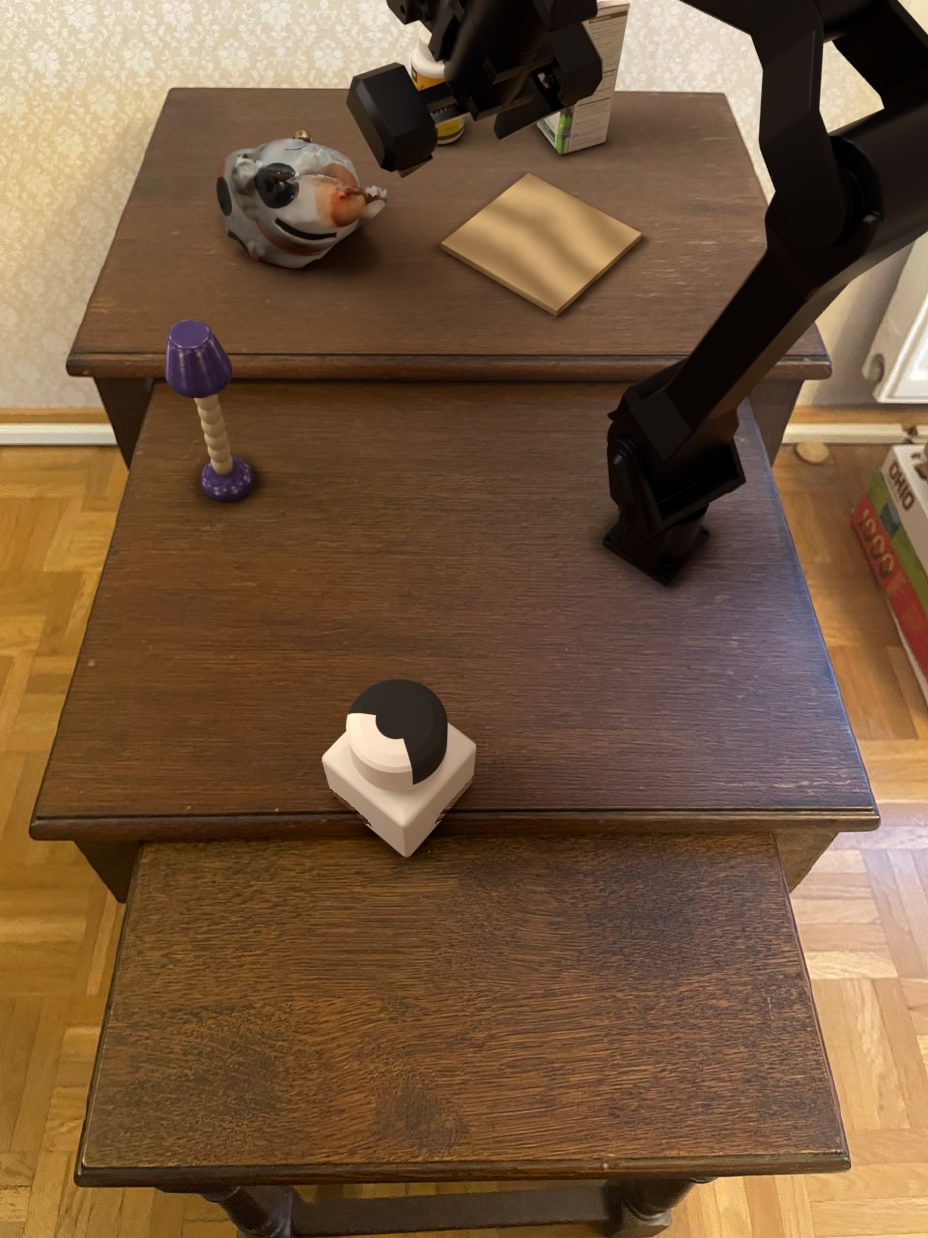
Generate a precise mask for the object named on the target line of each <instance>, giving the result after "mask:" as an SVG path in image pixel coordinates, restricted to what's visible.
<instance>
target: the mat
mask: <svg viewBox="0 0 928 1238" xmlns="http://www.w3.org/2000/svg"><path fill="white" fill-rule="evenodd" d="M641 239H642V232H641V231H638V230H636V229H634V228H633V227H631V226H628V225H627V224H625V223H623V222H621V221H619V220H618V219H616V218H614V217H612V216H611V215H609V214H606V213H604V211H603V212H602V211H601V210H599V209H598V208H595V207H593V206H592V205H589V204H588V203H586V202H584V201H583V200H580V199H578V198H577V197H575V196H574V195H571V194H569V193H567V192H566V191H563V190H562V189H560V188H558V187H556V186H554V185H552V184H550V183H549V182H547V181H545V180H543V179H541V178H539V177H537V176H535V174H532V173H529V172H527V173H526V174H525V175H524V176H523V177H522V178H520V179H519V180H518V181H516V182H515V183H514V184H513V185H511V186H510V187H509V188H507V189H506V190H505V191H503V193H501V194H500V195H499V196H497V197H496V198H495V199H494V200H492V201H491V202H490V203H489V204H487V205H486V206H485V207H484V208H482V209H481V210H480V211H479V212H478V213H476V214H475V215H474V216H473V217H471V218H470V219H469V220H468V221H466V222H465V223H463V225H461V226H460V227H459V228H458V229H457V230H455V231H453V233H451V234H450V235H449V236H448V237H446V238H445V239H444V240H443V241H442V242H440V249H441V251H443V252H445V253H446V254H448V255H450V256H452V257H453V258H455V259H457V260H458V261H460V262H462V263H464V264H466V265H467V266H469V267H470V268H473V270H475V271H478V272H479V273H481V274H482V275H484V276H486V277H488V278H489V279H491V280H492V281H494V282H496V283H497V284H500V285H501V286H503V287H505V288H506V289H508V290H510V291H512V292H513V293H515V294H517V295H519V296H520V297H521V298H523V299H525V300H527V301H528V302H530V303H532V304H533V305H536V306H537V307H539V308H540V309H542V310H544V311H545V312H548V313H549V314H551V315H553V316H554V317H558V316H559V315H560V314H561V313H563V311H565V310H566V309H567V308H568V307H569V306H570V305H571V304H572V303H573V302H575V300H577V299H578V298H579V297H580V296H581V295H582V294H583V293H584V292H585V291H586V290H587V289H589V288H590V287H592V285H593V284H594V283H595V282H596V281H597V280H598V279H599V278H600V277H602V276H603V275H604V274H605V273H606V272H607V271H608V270H609V269H610V268H612V267H613V266H614V265H615V264H617V262H618V261H619V260H620V259H622V258H623V256H624V255H625V254H627V253H628V252H629V251H630V250H632V248H633V247H634V246H635V245H637V244H638V243H639V242H640V241H641Z"/></svg>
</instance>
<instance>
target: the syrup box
mask: <svg viewBox="0 0 928 1238" xmlns="http://www.w3.org/2000/svg"><path fill="white" fill-rule="evenodd" d="M597 7H598V14H597V16H596V17H595V18H592V19H590V20H587V21H584V22H583V23H584V25H585V27H586V29H587V31H588V33H589V34H590V36H591V38H592V40H593V42H594V44H595V46H596V48H597V50H598V51H599V53H600V55H601V57H602V59H603V68H604V74H603V80H602V81H601V83H600V84H599V86H598V88H597V89H596V91H595V92H594V94H593V95H592V96H590V97H587V98H584V99H582V100H579V101H578V102H577V103H576V104H575V105H573V106H571V107H568V108H566V109H564V110H562V111H560V112H558V113H556V114H554V115H552V116H549V117H547V118H545V119H543V120H541V121H539V122H537V123H536V126H537V127H538V129H539V130H540V131H541V132H542V133H543V135H544V137H545V138H546V139H547V140H548V141H549V143H550V144H551V145H552V146H553V148H554V149H555V150H556V152H557V153H558V154H559V155H564V154H569V153H572V152H575V151H579V150H582V149H586V148H590V147H592V146H596V145H599V144H603V143H606V141H607V134H608V130H609V124H610V123H609V122H610V119H611V112H612V107H613V103H614V97H615V91H616V86H617V85H616V84H617V79H618V73H619V68H620V62H621V58H622V57H621V56H622V53H623V46H624V40H625V36H626V35H625V34H626V28H627V23H628V17H629V12H630V7H631V2H630V1H629V0H597Z"/></svg>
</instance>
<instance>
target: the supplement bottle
mask: <svg viewBox="0 0 928 1238" xmlns="http://www.w3.org/2000/svg"><path fill="white" fill-rule="evenodd" d="M431 35H432V33H430V32H429V31H428V30H427V28H426V27H425V26H424V25H423V26H422V27H421V28H420V29H419V32H418V43H417V46H416V47H415V48H414V49H413V51H412V52H411V55H410V56H411V57H410V70H411V71H410V74H411V75H410V77H411V79H412V80H413V82H414V84H415V86H416V88H417V90H418V91H420V90H423V89H425V88H428V87H431V86H434V85H437V84H439V83H442V82H445V79H444V71H443V70H444V67H445V66H444V64H443V62H442V61H439V62H436V61H435V60H434V58H433V56H432V54H431V52H430V50H429V49H428V44H429V41H430V38H431ZM457 105H458V104H457ZM438 112H439V111H438ZM465 119H466V116H464V117H461V118H459V119H456V120H453V121H451V122H448V123H445V124H443V125H440V126H437V127H436V133H437V139H438V143H437V145H445V144H450V143H452V142H454V141H456V140H457V139H460V137H461V136H462V135H463V132H464V130H465Z"/></svg>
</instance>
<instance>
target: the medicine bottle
mask: <svg viewBox="0 0 928 1238" xmlns="http://www.w3.org/2000/svg"><path fill="white" fill-rule="evenodd" d="M447 714H448V713H447V710H446V709H445V706H444V705H443V703H442V701H441V699H440V698H439V697H438V695H437V694H436V693H435V692H434V691H432V690H431V689H430V688H429V687H427V686H426V685H423V684H422V683H420V682H417V681H414V680H410V679H406V678H405V679H404V678H391V679H386V680H382V681H379V682H376V683H374V684H372V685H370V686H369V687H367V688H366V689H364V690H363V691H362V692H361V693H360V694H359V695H358V696H357V697H356V699H355V700H353V703H352V704H351V706H350V707H349V711H348V713H347V717H346V722H345V723H346V724H345V729H346V731H345V732H343V734H342V735H341V736H340V737H339V738H337V740H336V741H335V742H334V743H333V744H332V745H331V746H330V748H328V749H327V750H326V752H325V753H324V754H323V755H322V757H321V762H322V765H323V769H324V774H325V776H326V780H327V784H328V787H330V788H329V790H330V789H332V790H333V791H334V792H335V793H337V794H338V795H339V796H340V797H342V798H343V799H344V800H346V801H347V802H348V803H349V804H350V805H351V806H352V807H354V808H355V809H356V810H357V811H358V812H359V813H360V814H361V815H363V816H364V817H365V818H366V819H367V820H368V822H370V824H371V826H372V827H371V826H370V825H369V824H365V825H366V826H367V827H368V828H369V829H370V830H372V831H373V832H374V833H375V834H376V835H377V836H379V837H380V839H382V840H384V841H385V842H386V843H387V844H388V845H389V846H390V847H392V848H393V849H394V850H395V851H397V852H398V853H399V854H400V855H401V856H403V857H405V858H410V857H411V856H412V854H414V852H415V851H416V850H417V849H418V848H419V847H420V845H421V844H422V843H423V842H424V841H425V840H426V839H427V837H428V836H429V835H430V834H431V833H432V831H434V830H435V828H436V827H437V826H438V825H439V823H440V822H442V820H440V821H438V822H437V823H436V824H435V822H436V820H437V818H438V817H439V815H440V813H441V812H442V811H443V809H444V808H445V807H446V806H447V805H448V804H449V802H450V801H451V800H452V799H453V798H454V797H455V796H456V794H457V793H458V792H459V791H460V790H461V789H462V788H463V787H464V786H465V784H466V783H467V782H468V781H469V780H470V779H471V778H472V776H473V777H474V774H475V763H476V755H477V754H476V753H477V745H476V743H475V742H474V741H473V740H471V738H469V737H468V736H466V734H464V733H462V732H461V731H460V730H459V729H457V728H456V727H455V726H453V724H451V723H450V722H449V721H448V719H449V718H448V715H447Z"/></svg>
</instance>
